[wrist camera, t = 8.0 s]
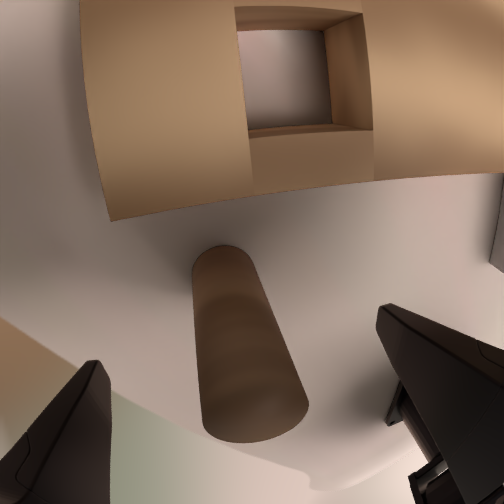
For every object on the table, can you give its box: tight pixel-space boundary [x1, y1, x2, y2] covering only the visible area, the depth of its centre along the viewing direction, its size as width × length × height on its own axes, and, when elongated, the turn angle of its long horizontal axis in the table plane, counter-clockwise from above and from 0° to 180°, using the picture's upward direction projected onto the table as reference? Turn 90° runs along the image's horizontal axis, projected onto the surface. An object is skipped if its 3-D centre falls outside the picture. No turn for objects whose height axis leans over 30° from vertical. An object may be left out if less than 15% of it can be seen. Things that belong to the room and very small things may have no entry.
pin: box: [192, 246, 309, 443], centre depth 10 cm, size 3×3×7 cm
